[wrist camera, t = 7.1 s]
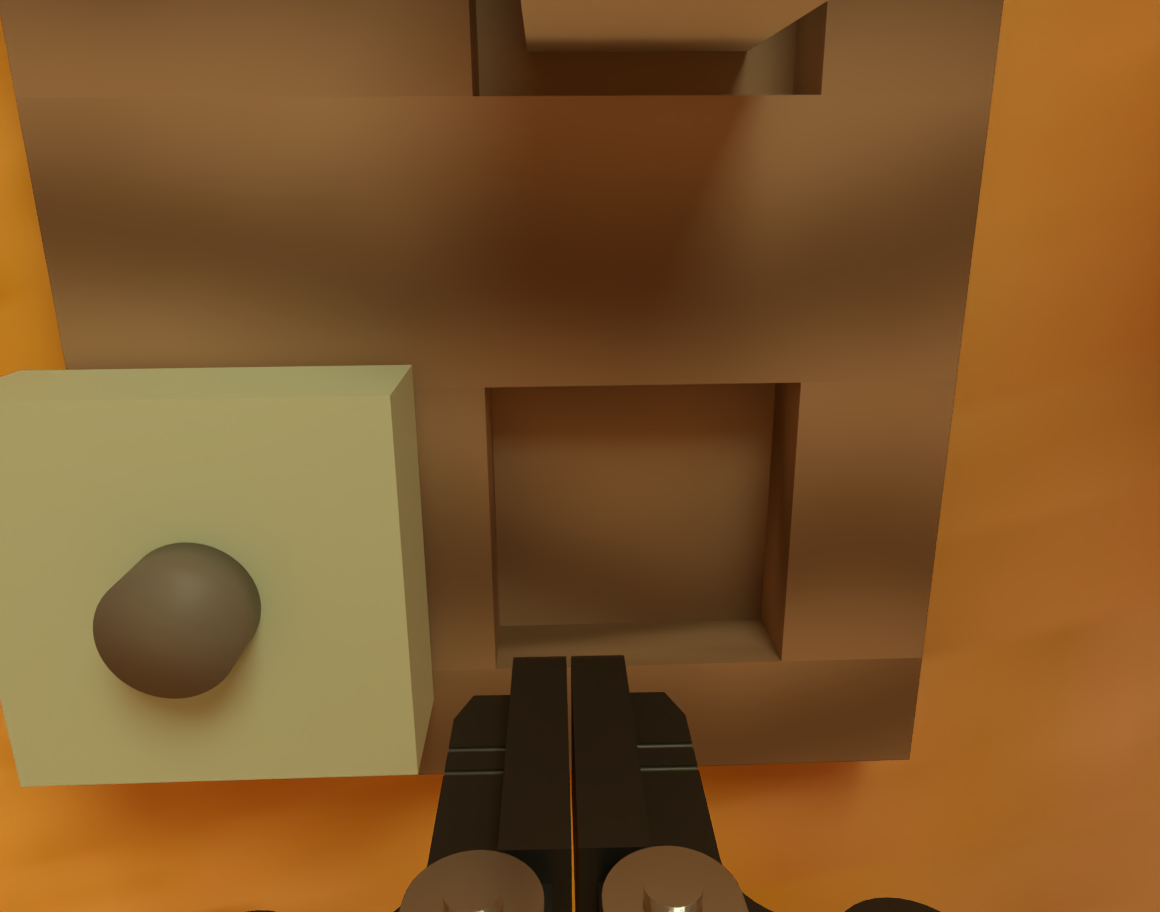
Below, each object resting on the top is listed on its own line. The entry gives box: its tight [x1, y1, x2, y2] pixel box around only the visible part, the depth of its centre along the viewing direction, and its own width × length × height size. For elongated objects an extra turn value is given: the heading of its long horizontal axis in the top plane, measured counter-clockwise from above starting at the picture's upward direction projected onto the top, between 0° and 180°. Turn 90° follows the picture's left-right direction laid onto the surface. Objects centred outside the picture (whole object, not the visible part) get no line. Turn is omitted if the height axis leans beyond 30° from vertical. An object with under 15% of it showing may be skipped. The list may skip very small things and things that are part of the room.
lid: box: [0, 365, 434, 787], centre depth 17 cm, size 8×8×4 cm
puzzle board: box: [0, 0, 1004, 783], centre depth 18 cm, size 24×18×2 cm
